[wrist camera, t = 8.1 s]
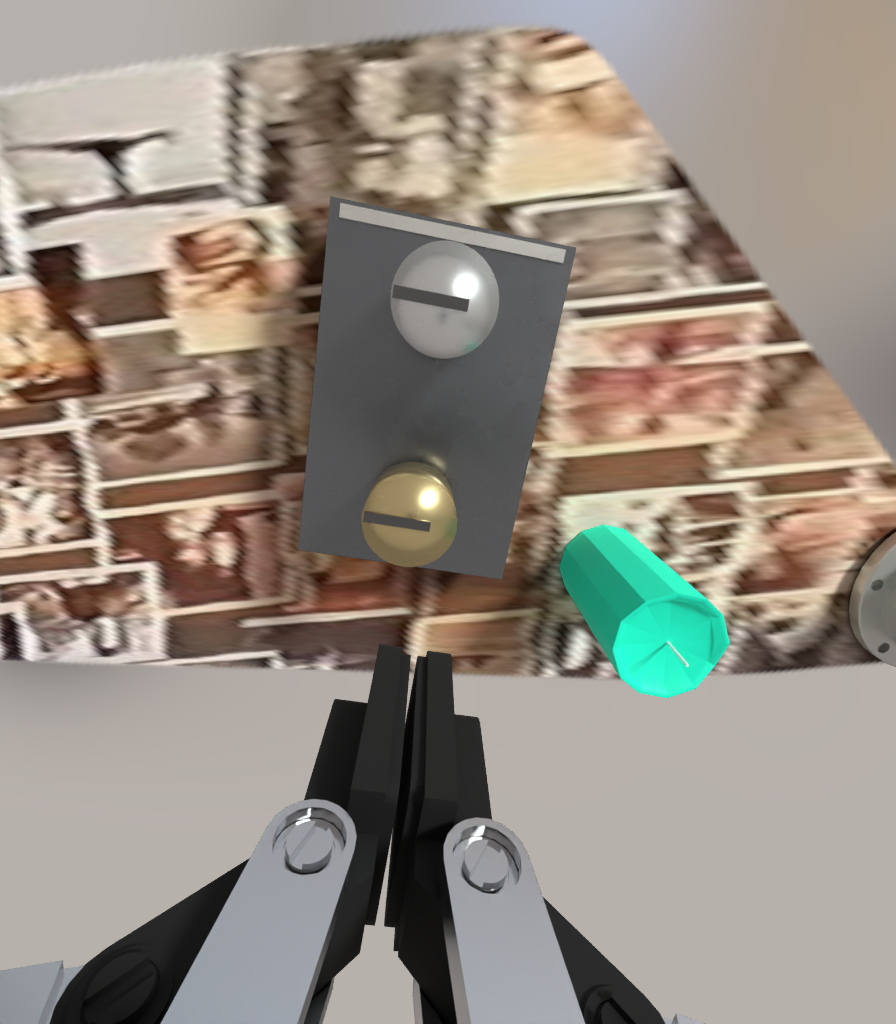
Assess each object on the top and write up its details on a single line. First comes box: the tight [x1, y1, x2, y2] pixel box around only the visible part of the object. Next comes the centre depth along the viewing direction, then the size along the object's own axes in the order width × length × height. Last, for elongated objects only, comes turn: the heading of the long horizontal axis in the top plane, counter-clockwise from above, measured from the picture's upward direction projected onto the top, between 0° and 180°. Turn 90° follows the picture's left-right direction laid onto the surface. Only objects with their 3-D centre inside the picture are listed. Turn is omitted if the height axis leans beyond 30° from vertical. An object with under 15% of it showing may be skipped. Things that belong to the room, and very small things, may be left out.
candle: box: [559, 525, 730, 698], centre depth 29 cm, size 6×6×12 cm
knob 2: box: [361, 462, 457, 567], centre depth 27 cm, size 5×5×8 cm
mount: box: [298, 197, 576, 579], centre depth 28 cm, size 12×18×5 cm, turn 170°
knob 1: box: [390, 241, 499, 359], centre depth 24 cm, size 5×5×8 cm
